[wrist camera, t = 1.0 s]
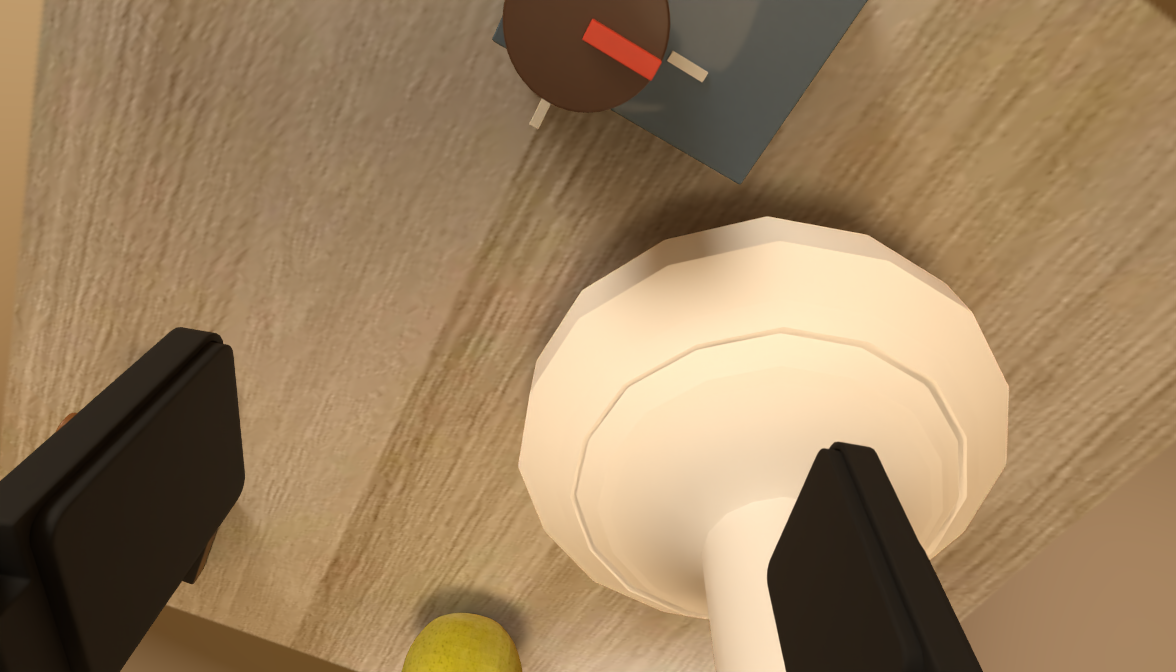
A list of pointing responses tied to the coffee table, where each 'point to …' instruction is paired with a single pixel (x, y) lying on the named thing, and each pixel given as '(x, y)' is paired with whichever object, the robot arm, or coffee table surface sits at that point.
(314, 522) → the coffee table surface
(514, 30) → the knob
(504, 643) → the fruit
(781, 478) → the white vase
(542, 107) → the panel
